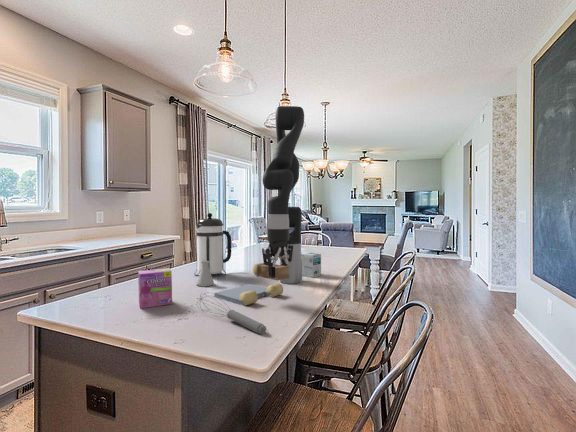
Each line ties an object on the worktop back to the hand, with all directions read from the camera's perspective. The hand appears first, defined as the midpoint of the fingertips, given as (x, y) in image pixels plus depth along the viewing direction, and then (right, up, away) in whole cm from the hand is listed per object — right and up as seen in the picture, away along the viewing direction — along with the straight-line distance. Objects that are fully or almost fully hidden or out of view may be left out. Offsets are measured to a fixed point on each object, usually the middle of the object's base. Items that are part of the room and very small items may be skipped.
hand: (278, 275), depth 118 cm
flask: (-32, -9, +28) cm, 43 cm away
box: (-42, -10, 0) cm, 44 cm away
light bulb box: (+13, -8, +47) cm, 49 cm away
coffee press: (-33, -8, +47) cm, 59 cm away
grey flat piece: (-11, -9, +10) cm, 18 cm away
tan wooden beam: (-3, -1, +2) cm, 4 cm away
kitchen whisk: (-14, -11, -15) cm, 23 cm away
